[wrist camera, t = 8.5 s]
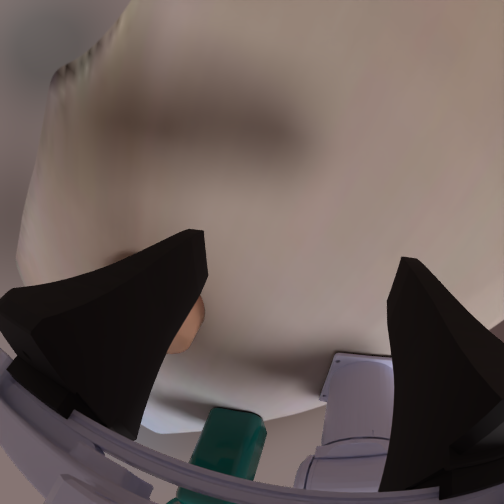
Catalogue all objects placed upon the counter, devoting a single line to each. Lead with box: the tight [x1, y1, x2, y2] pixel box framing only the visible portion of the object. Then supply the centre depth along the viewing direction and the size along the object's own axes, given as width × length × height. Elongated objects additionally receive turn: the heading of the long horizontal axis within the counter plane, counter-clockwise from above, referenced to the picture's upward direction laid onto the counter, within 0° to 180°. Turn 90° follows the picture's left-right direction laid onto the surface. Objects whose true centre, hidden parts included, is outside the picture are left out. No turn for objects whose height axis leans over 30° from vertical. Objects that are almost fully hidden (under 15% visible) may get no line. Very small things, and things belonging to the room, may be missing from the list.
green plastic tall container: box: [167, 408, 267, 504], centre depth 31 cm, size 10×8×22 cm
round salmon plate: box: [166, 296, 205, 354], centre depth 27 cm, size 10×10×4 cm
